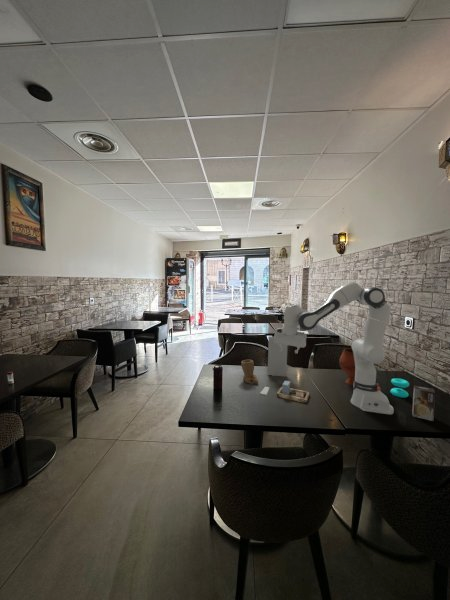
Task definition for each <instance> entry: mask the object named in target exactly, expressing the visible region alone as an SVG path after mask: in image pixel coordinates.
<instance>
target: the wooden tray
mask: <svg viewBox="0 0 450 600" xmlns="http://www.w3.org/2000/svg"><path fill="white" fill-rule="evenodd" d="M296 392H301V393H303V396H305V397H304V398H300V397H296V395H290V394H289V395H286V394H282V386H281V387H280V388H278V390H277V393H276V397H277V398H282V399H286V400H291V401H295V402H299V403H304V404H307V403H308V400H309V397H310V392H309V391H307V390H302V389H301V390H300V389H295V388H291V387H290V393H292V394H296Z"/></svg>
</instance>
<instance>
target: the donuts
mask: <svg viewBox="0 0 450 600" xmlns="http://www.w3.org/2000/svg"><path fill="white" fill-rule="evenodd" d="M390 383H391V384H392V385H394V386H395V387H393V388H391V389H390V391H389V393H390V394H392V396H394V397H398V398H402V399H405V398H408V397H409V393H408V391H406V390H405V389H404V388H408V387H409V386H410V382H409V381H408V380H406V379H403V378H391V380H390Z"/></svg>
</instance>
